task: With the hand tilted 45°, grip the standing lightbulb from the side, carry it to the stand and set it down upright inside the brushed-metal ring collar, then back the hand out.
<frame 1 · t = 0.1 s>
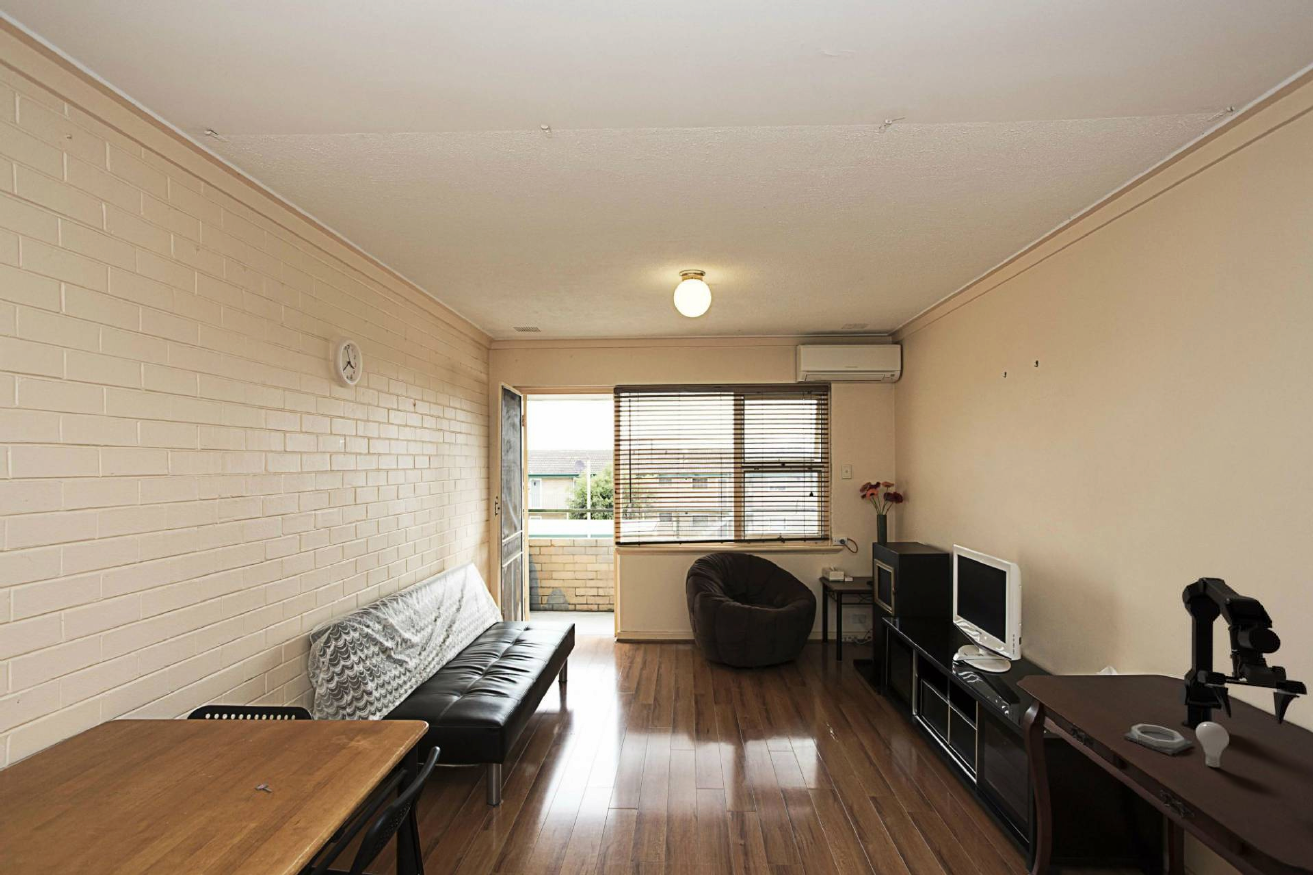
hand: (1254, 720, 155), 15 cm above the table, tool pointing down, fingers open, 9 cm apart
bulb stand: (1157, 742, 177), on the table
lightbulb: (1212, 767, 164), on the table
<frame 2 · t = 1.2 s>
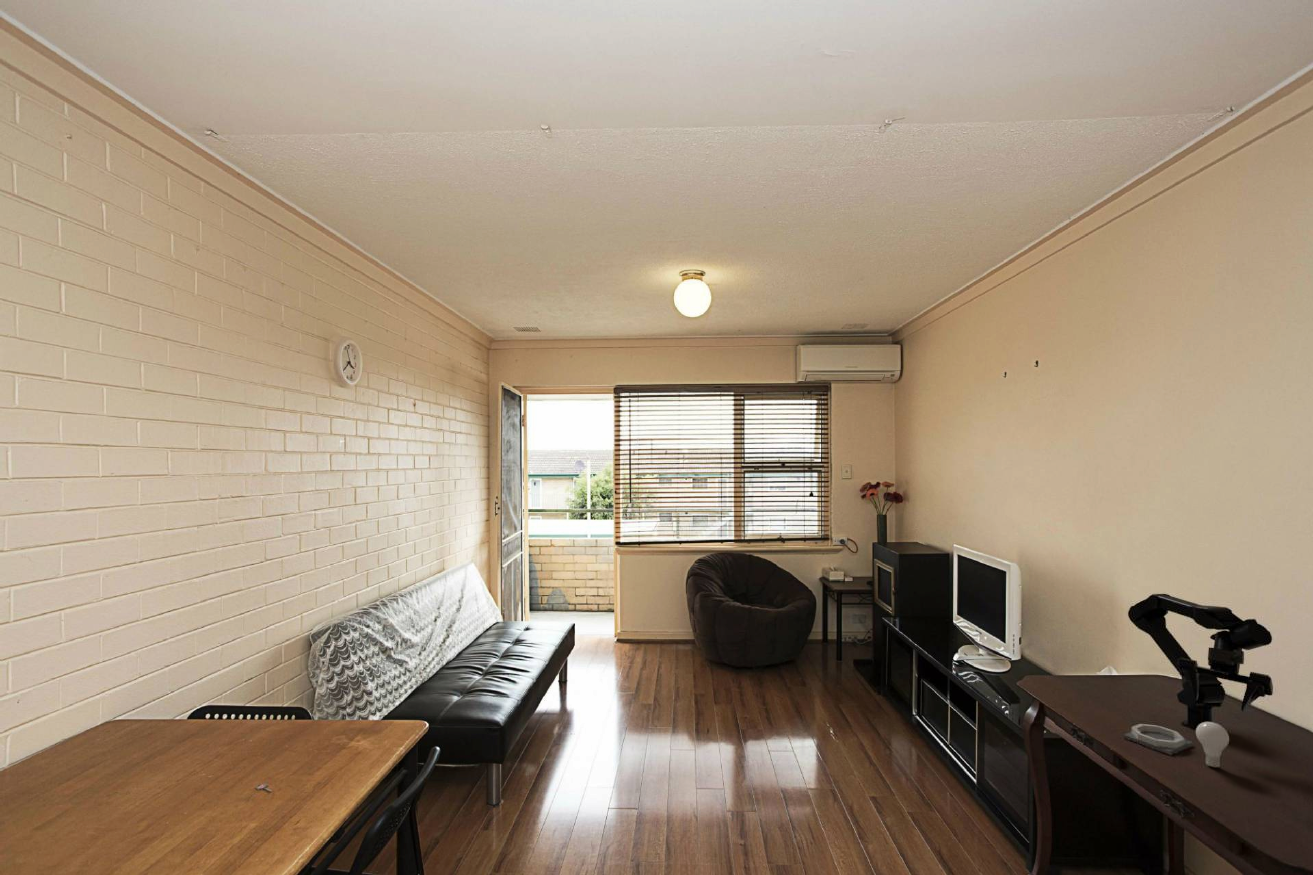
hand: (1218, 704, 169), 13 cm above the table, tool tilted 45°, fingers open, 9 cm apart
nothing on the table moved.
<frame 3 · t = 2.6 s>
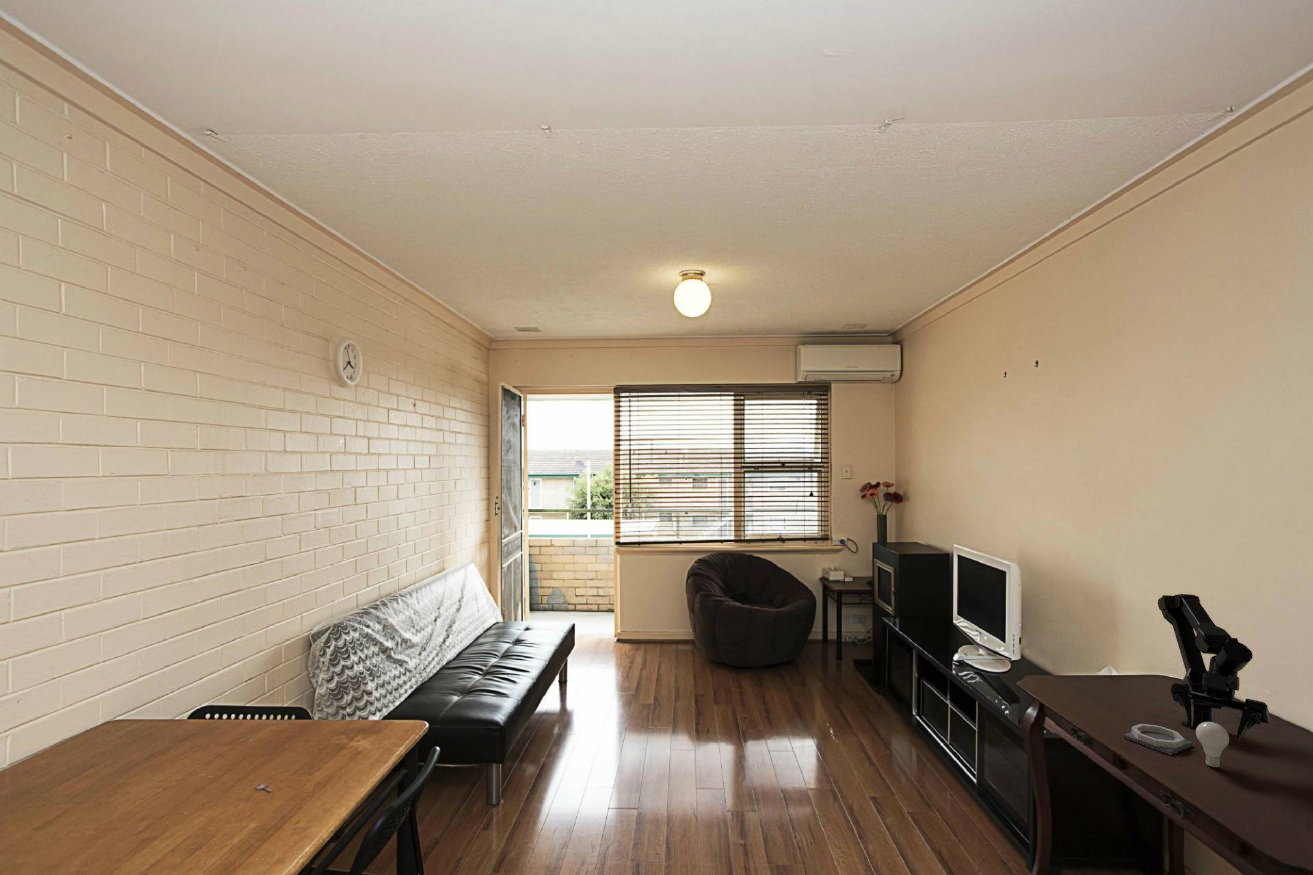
hand: (1213, 732, 164), 8 cm above the table, tool tilted 45°, fingers open, 9 cm apart
nothing on the table moved.
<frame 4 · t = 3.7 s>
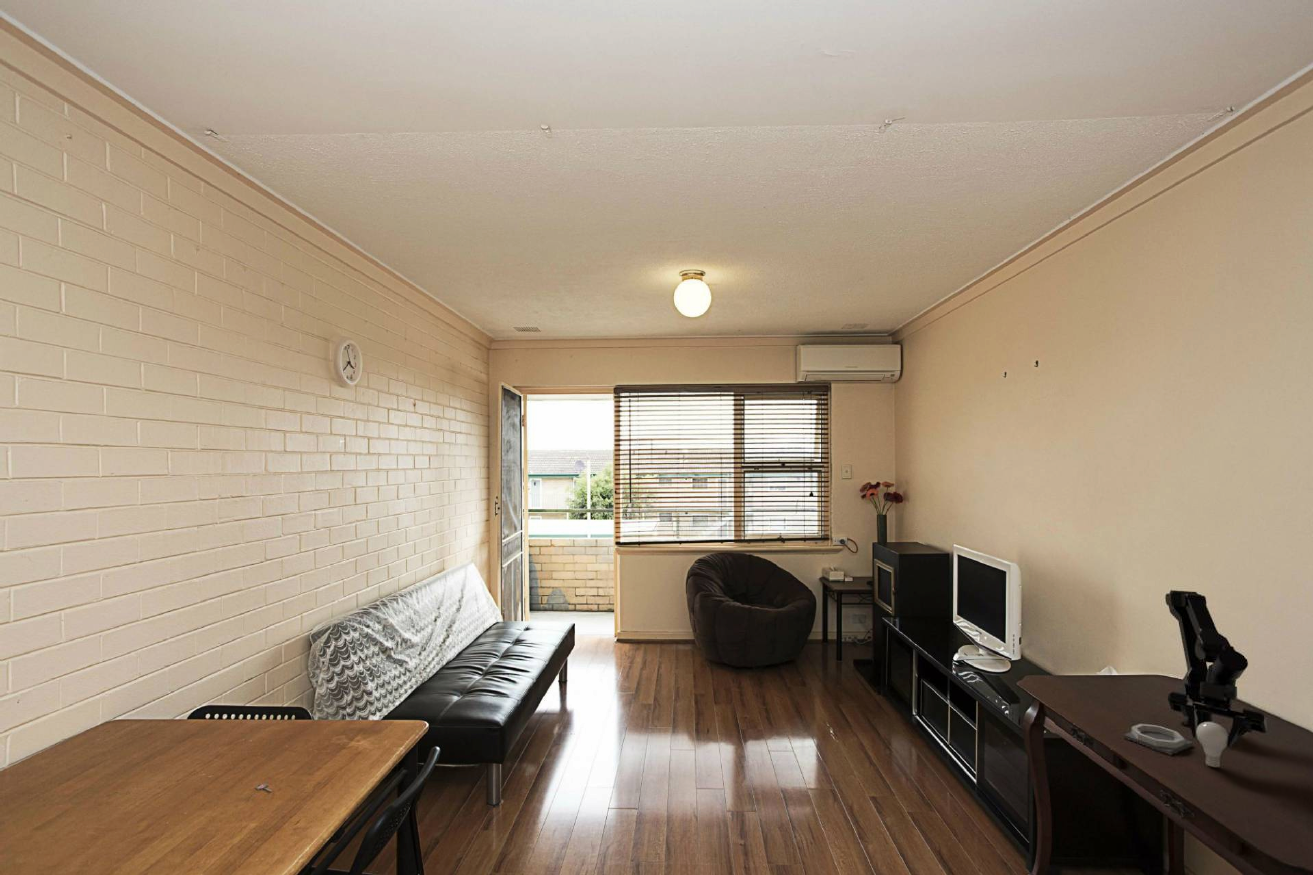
hand: (1211, 742, 163), 7 cm above the table, tool tilted 45°, fingers closed on lightbulb, 6 cm apart
lightbulb: (1212, 767, 164), on the table, touching gripper
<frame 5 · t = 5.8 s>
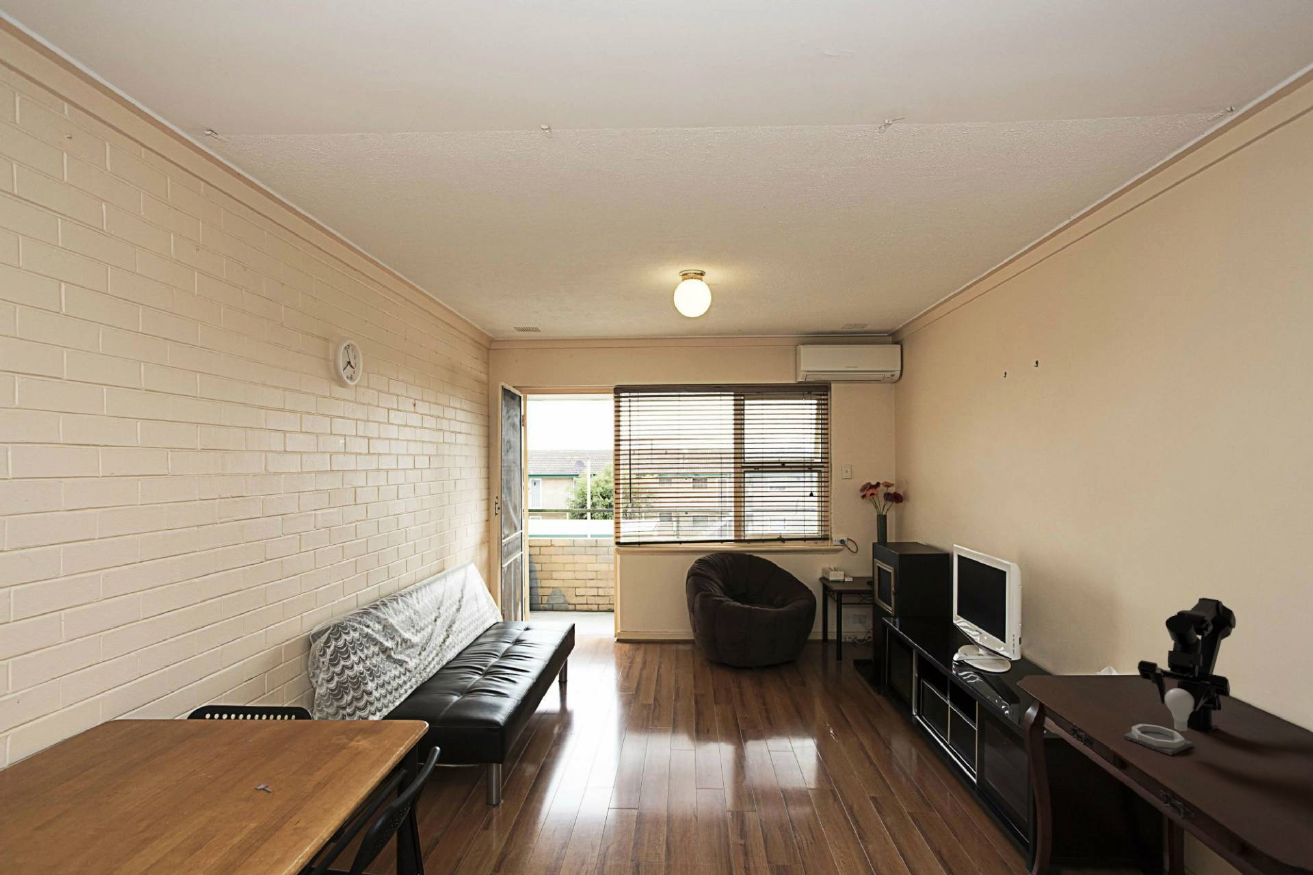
hand: (1178, 707, 171), 12 cm above the table, tool tilted 45°, fingers closed on lightbulb, 6 cm apart
lightbulb: (1181, 732, 172), point 5 cm above the table, touching gripper
when the fingers open (8 cm above the table, at t = 8.0 s): lightbulb stays where it is, resting on bulb stand.
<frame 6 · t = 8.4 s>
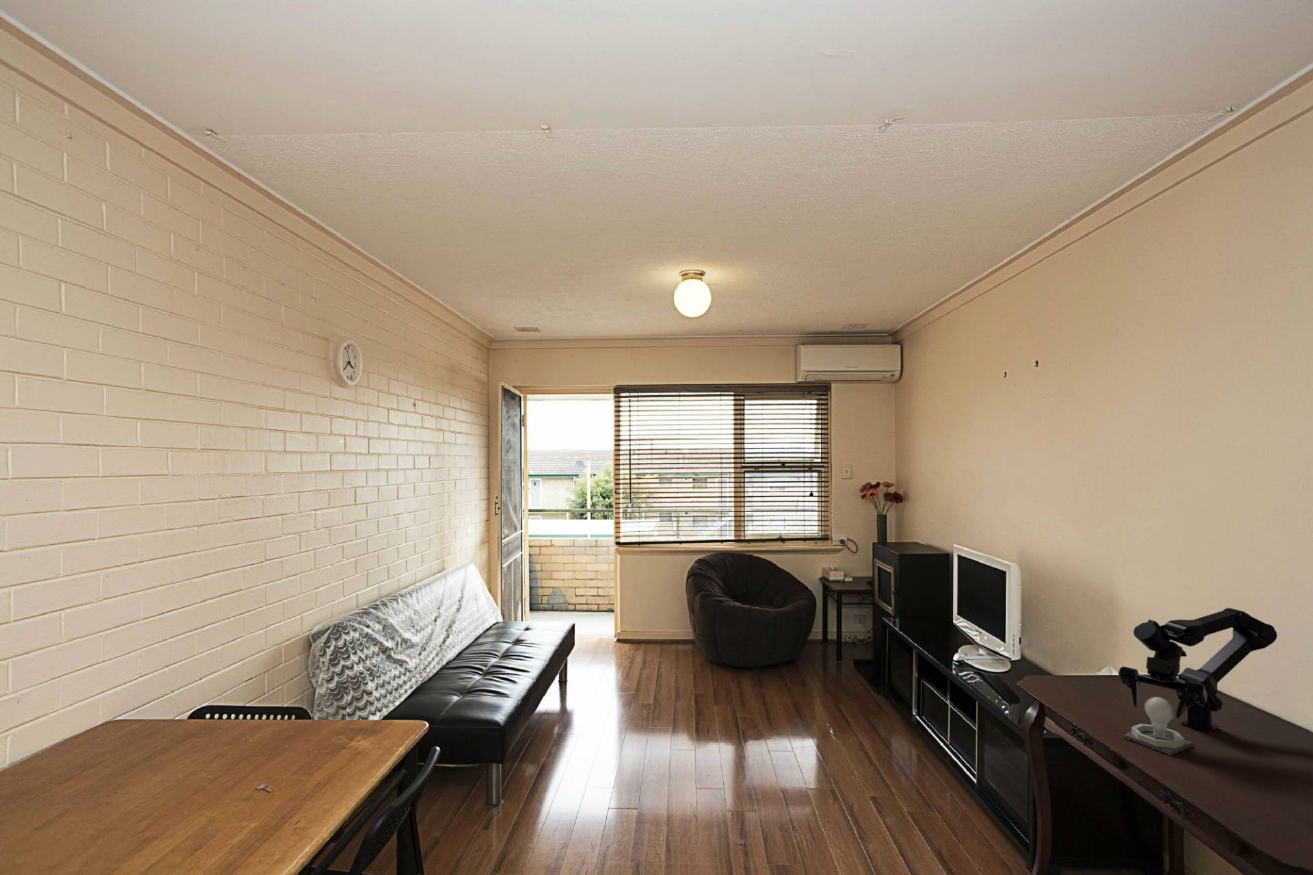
hand: (1155, 711, 176), 9 cm above the table, tool tilted 45°, fingers open, 9 cm apart
lightbulb: (1159, 739, 177), point 1 cm above the table, touching bulb stand
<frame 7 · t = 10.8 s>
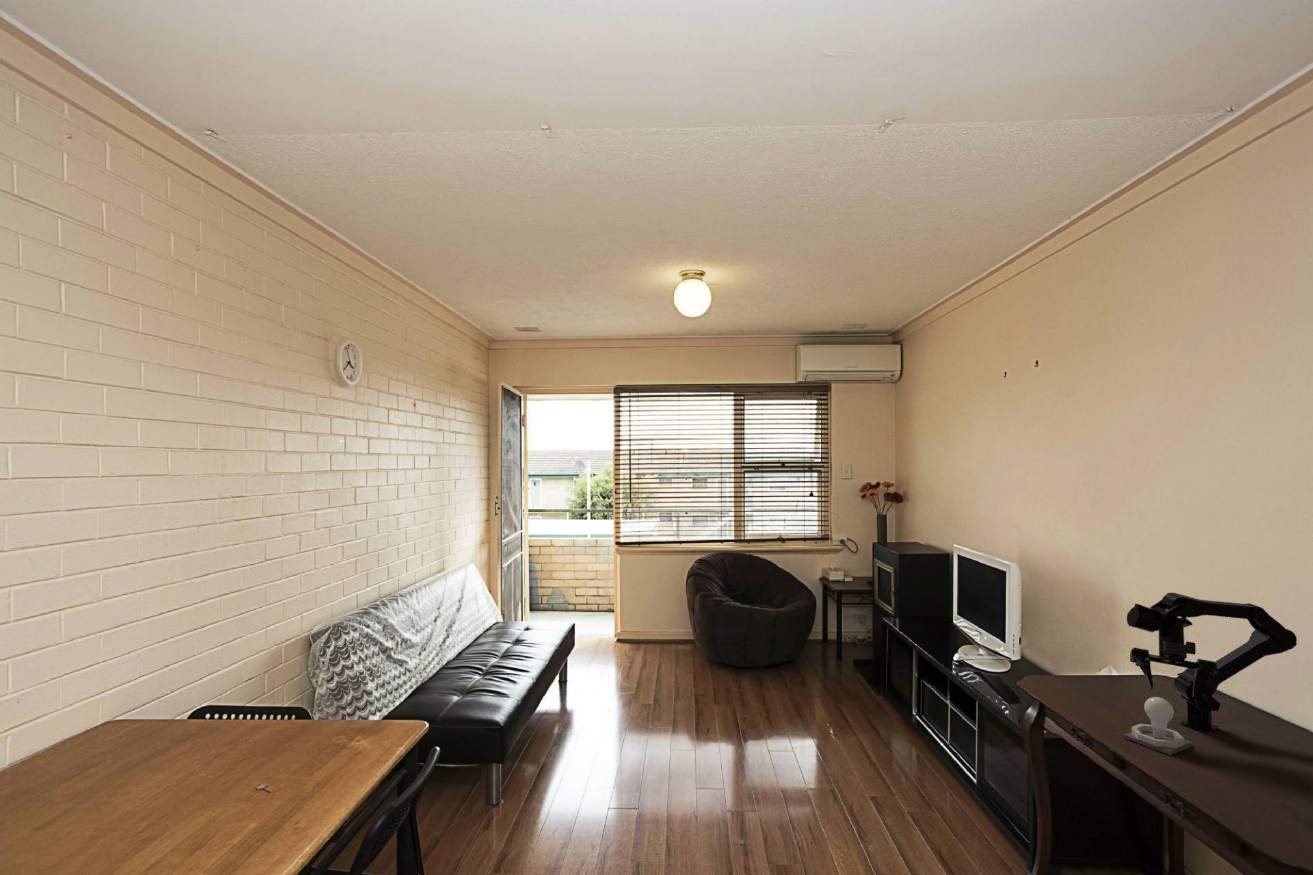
hand: (1172, 693, 180), 12 cm above the table, tool tilted 35°, fingers open, 9 cm apart
nothing on the table moved.
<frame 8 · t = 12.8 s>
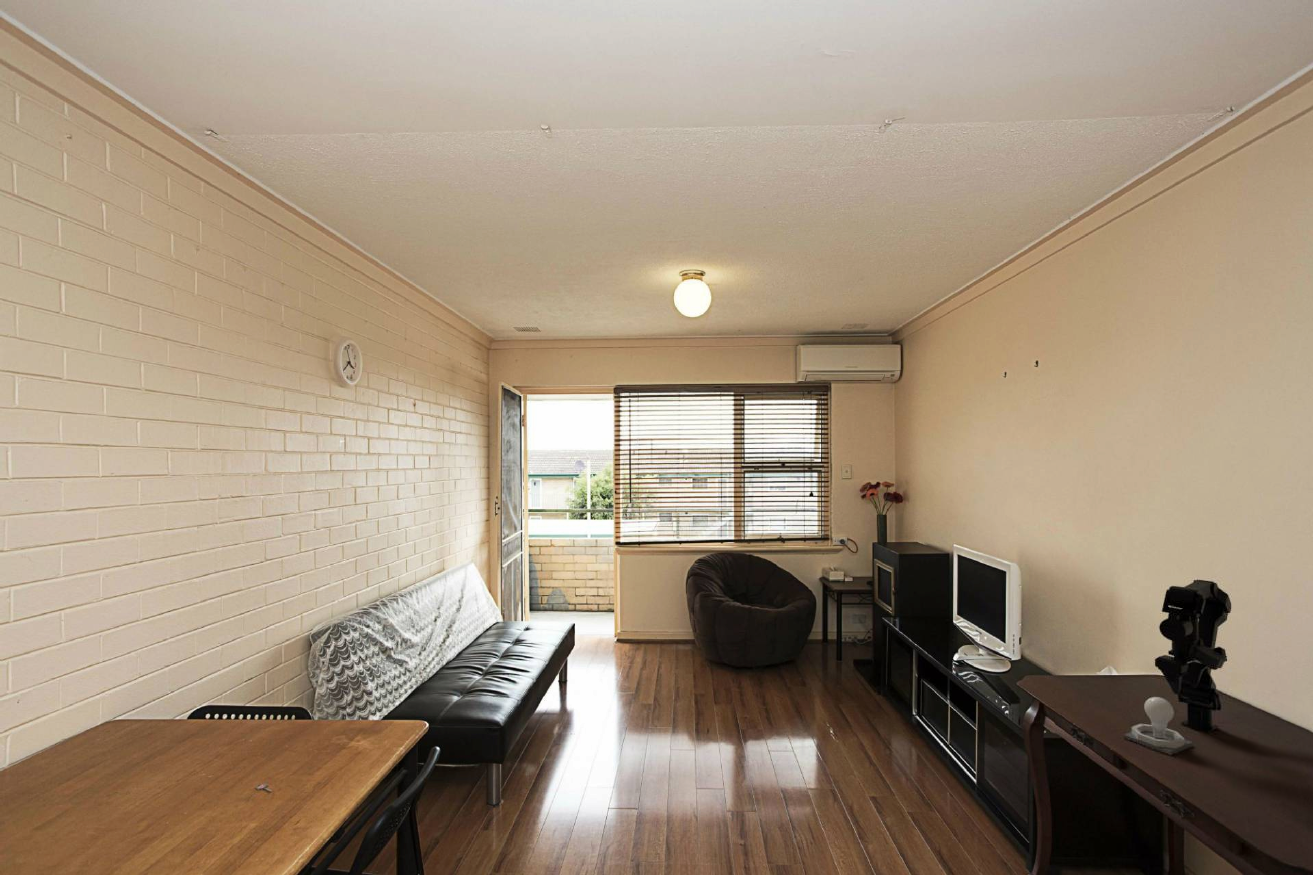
hand: (1185, 691, 179), 13 cm above the table, tool pointing down, fingers open, 9 cm apart
nothing on the table moved.
at the end: lightbulb 0.4 cm off-centre on the bulb stand, point 0.8 cm above the bulb stand's base; lightbulb tilted 0°; the gripper is holding nothing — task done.
